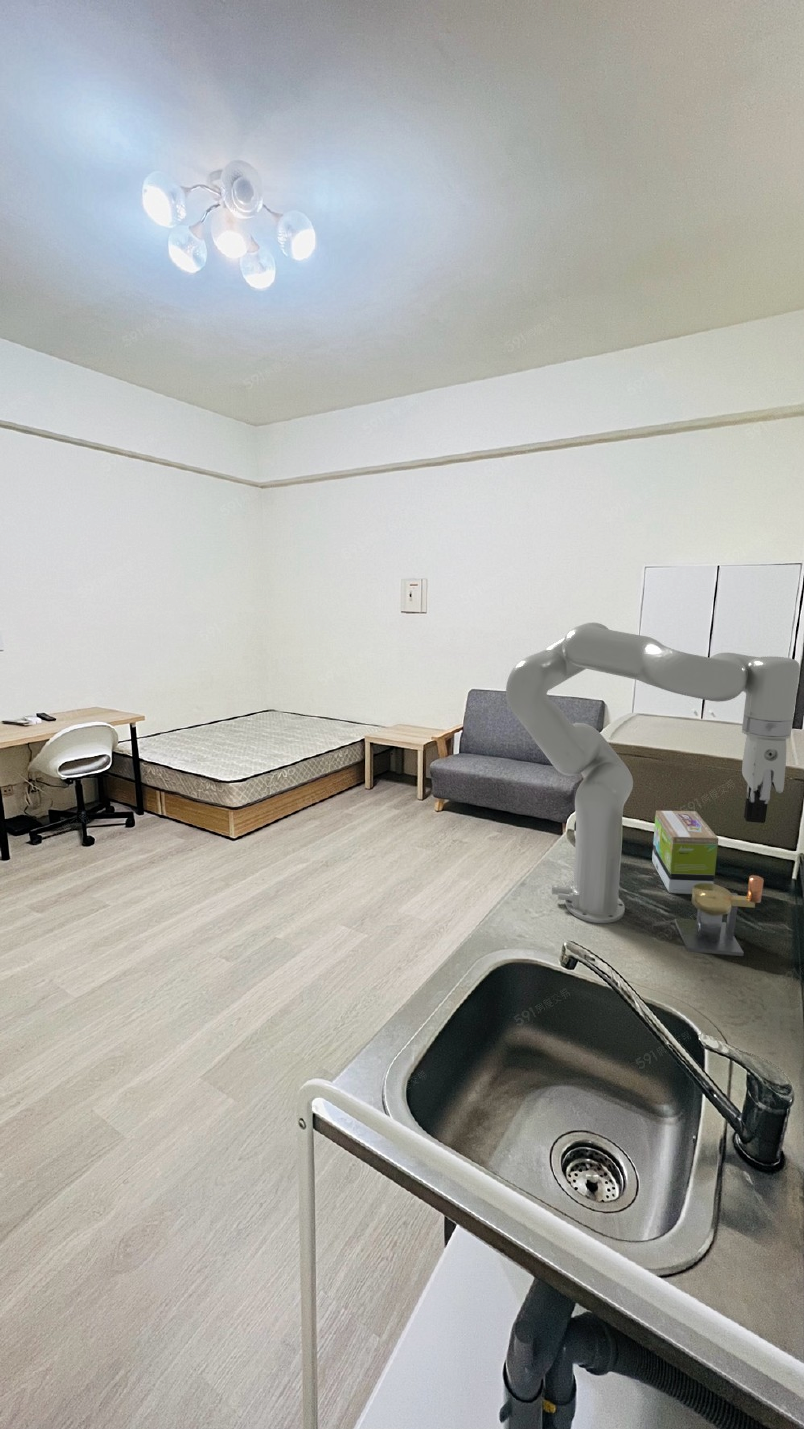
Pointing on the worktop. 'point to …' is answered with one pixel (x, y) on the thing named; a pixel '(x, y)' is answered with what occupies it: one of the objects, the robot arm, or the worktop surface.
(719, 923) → the grey crank stand
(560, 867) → the worktop surface
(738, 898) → the crank with handle
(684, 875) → the tea box
